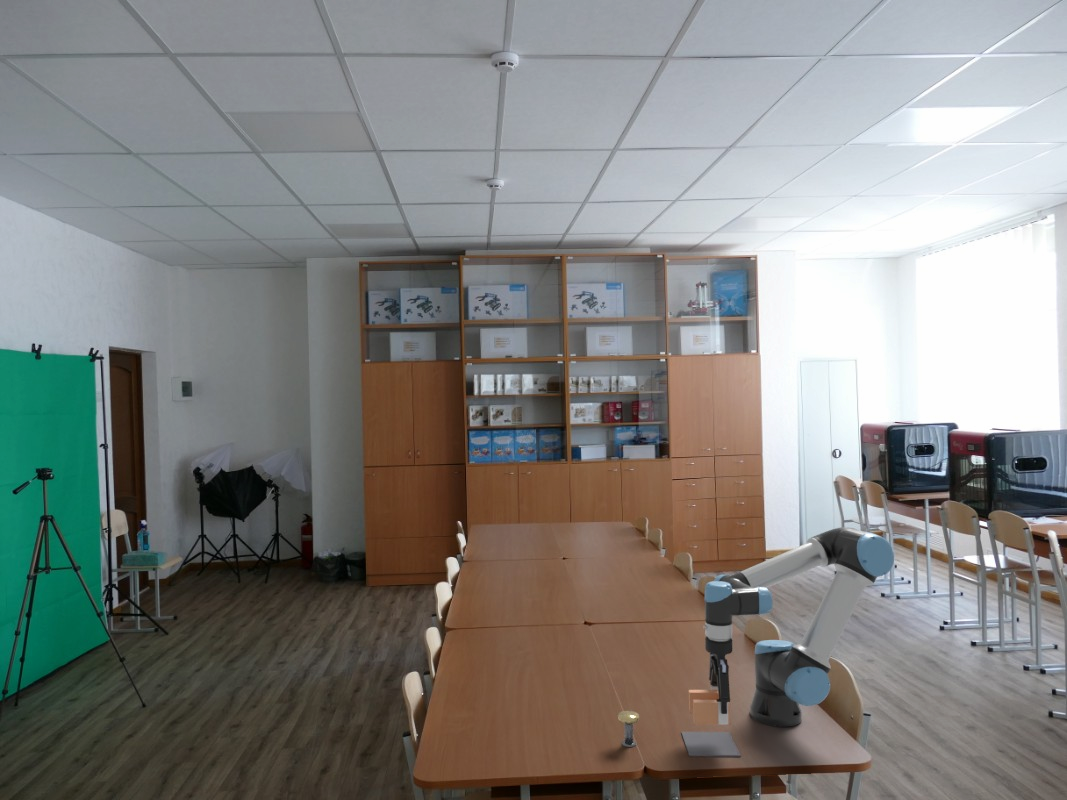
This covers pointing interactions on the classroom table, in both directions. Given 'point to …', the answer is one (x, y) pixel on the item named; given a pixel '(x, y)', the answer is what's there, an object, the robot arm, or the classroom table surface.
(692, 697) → the c link
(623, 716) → the knob post
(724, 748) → the mat
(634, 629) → the classroom table surface
